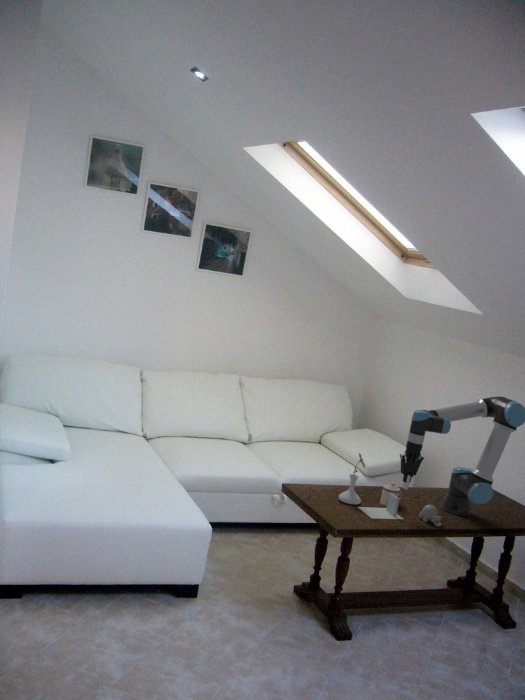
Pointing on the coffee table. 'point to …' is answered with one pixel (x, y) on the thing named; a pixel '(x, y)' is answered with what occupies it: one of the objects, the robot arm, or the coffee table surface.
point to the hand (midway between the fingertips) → (405, 488)
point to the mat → (378, 513)
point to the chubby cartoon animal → (430, 515)
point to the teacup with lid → (389, 489)
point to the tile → (392, 504)
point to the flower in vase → (352, 488)
